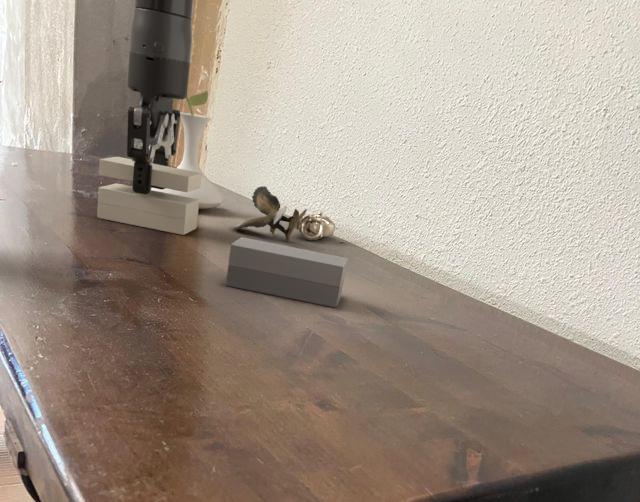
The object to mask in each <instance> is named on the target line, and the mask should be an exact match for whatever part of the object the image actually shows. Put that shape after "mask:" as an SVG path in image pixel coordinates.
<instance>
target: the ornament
mask: <svg viewBox="0 0 640 502" xmlns="http://www.w3.org/2000/svg"><path fill="white" fill-rule="evenodd" d="M323 215H324V212H323V211H319V212H318V213H315V214H307V215H304V216H303V217H302V218H301V220H300V221H299V222H298V223H297V224H296V226H295V228H294V229H296V230H298V233H300V235H301V236H302V237H303V238H304V239H306V240H308V241H316V240H319V239H322V238H326V237H332V236H334V234H335V228H336V224H335V222H334V221H332V220H331V219H330V217H329V216H327V215H325V216H323Z"/></svg>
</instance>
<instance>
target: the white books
mask: <svg viewBox="0 0 640 502" xmlns="http://www.w3.org/2000/svg"><path fill="white" fill-rule="evenodd" d="M198 208H199V199H194V198H189V197H184V196H179V195H174V194H168V193H163V192H158V191H153V190H151V191H150V193H149V194H146V195H145V194H140V193H135V192H134V191H133V185H127V184H122V183H118V182H115V183H112V184H111V183H110V184H107V185H102V186H99V187H98V194H97V215H96V217H97V219H101V220H106V221H111V222H117V223H121V224H126V225H131V226H137V227H142V228H145V229H151V230H156V231H161V232H166V233H172V234H176V235H181V236H185V235H186V234H188V233H190V232H193V231H194V230H196V229H197V226H198V217H199V216H198V215H199V209H198Z"/></svg>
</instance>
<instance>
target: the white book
mask: <svg viewBox="0 0 640 502" xmlns="http://www.w3.org/2000/svg"><path fill="white" fill-rule="evenodd" d="M152 165H153V166H152V176H151V185H152V186H157V187H162V188H167V189H172V190H177V191H182V192H190V191H193V190H196V189H199V188H200V185H201V175H202V173H198V172H193V171H188V170H183V169H178V168H177V167H172V166H169V165H168V166H163V165H158V164H153V163H152ZM133 173H134V161H132V158H126V157H122V156H112V157H105V158H100V159H99V166H98V175H99V176H101V177H102V176H103V177H107V178H111V179H117V180H122V181H127V182H131V183H133Z"/></svg>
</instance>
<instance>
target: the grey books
mask: <svg viewBox="0 0 640 502" xmlns="http://www.w3.org/2000/svg"><path fill="white" fill-rule="evenodd" d="M348 260H349V259H348V257H343V256H339V255H333V254H329V253H323V252H318V251H314V250H309V249H304V248H300V247H299V248H298V247H293V246H288V245H284V244H280V243H279V244H278V243H273V242H268V241H264V240H259V239H253V238H248V237H244V236H243V237H242V236H241V237H240V238H238V239H237V240H235V241H234V242H232V243H231V244H230V248H229V255H228V265H227V273H226V281H225V286H226V287H231V288H237V289H242V290H246V291H250V292H251V291H252V292H257V293H262V294H265V295H271V296H276V297H281V298H285V299H286V298H287V299H291V300H297V301H300V302H306V303H311V304H316V305H320V306H324V307H325V306H326V307H331V308H335V309H336V308H337V306H338V304H339V302H340V300H341V298H342V292H343V288H344V287H343V286H344V280H345V276H346V270H347V265H348Z"/></svg>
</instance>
